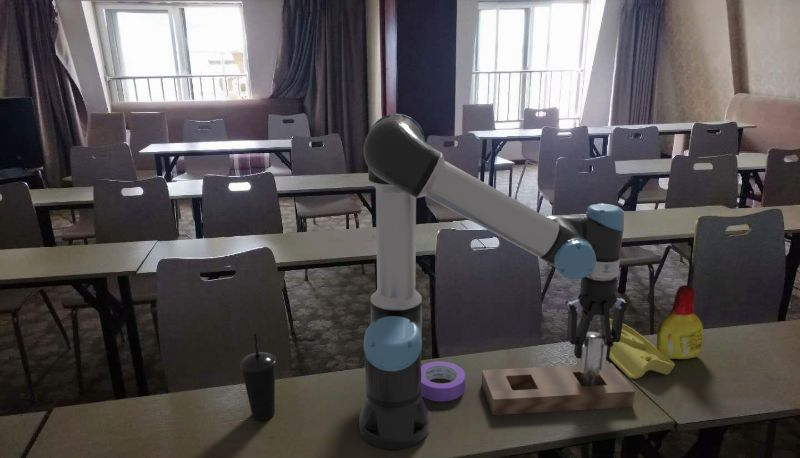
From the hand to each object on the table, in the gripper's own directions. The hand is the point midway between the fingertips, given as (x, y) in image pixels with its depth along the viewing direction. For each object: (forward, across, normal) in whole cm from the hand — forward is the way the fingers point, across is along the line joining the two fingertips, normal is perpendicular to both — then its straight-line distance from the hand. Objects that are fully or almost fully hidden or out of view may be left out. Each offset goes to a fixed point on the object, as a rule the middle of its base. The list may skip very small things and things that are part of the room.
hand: (590, 368), depth 132 cm
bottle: (+7, +29, +14) cm, 33 cm away
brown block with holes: (+7, -8, 0) cm, 10 cm away
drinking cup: (+7, -75, -1) cm, 75 cm away
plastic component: (+7, +18, +14) cm, 24 cm away
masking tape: (+7, -34, +6) cm, 35 cm away
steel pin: (+6, 0, 0) cm, 6 cm away
